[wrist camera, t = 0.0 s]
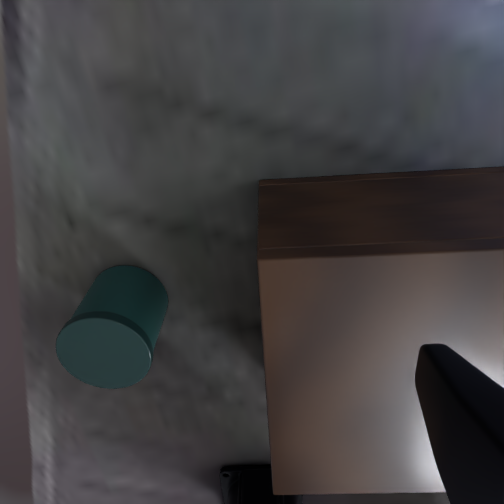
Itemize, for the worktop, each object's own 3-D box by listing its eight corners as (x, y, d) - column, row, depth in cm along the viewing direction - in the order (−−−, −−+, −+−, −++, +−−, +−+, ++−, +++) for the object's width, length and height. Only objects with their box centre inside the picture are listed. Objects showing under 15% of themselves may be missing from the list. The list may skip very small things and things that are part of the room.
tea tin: (175, 326, 27) (158, 388, 22) (101, 329, 27) (70, 390, 22) (162, 261, 24) (140, 316, 20) (81, 265, 24) (42, 320, 20)
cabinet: (530, 164, 21) (666, 241, 14) (475, 370, 28) (546, 491, 21) (258, 179, 22) (256, 259, 15) (270, 377, 29) (272, 495, 22)
